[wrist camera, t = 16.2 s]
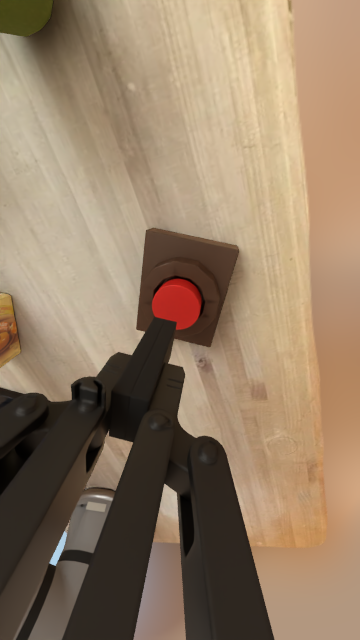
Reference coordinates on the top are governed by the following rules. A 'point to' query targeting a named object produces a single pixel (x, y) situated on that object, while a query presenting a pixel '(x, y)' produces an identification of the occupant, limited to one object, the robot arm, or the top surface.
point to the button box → (186, 277)
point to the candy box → (7, 331)
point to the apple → (24, 16)
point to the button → (177, 302)
